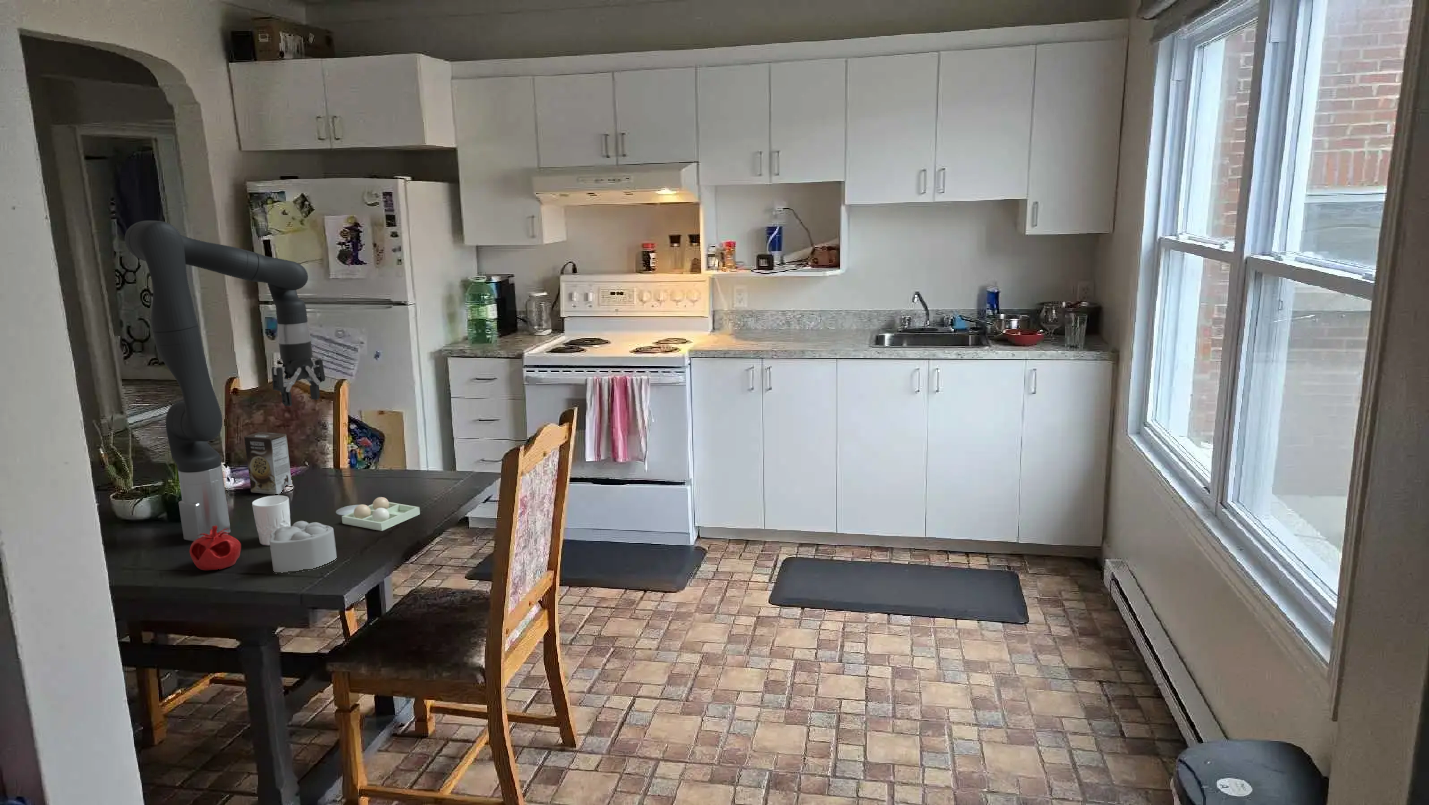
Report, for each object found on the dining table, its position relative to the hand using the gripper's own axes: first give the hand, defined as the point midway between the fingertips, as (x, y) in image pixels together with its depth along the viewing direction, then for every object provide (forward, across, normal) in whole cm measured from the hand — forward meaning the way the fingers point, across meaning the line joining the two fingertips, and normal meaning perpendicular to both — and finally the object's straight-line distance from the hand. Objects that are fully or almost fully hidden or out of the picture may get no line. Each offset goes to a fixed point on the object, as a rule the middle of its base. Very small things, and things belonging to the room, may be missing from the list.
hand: (302, 402), depth 239 cm
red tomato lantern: (+28, -38, -13) cm, 49 cm away
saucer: (+28, 0, -14) cm, 31 cm away
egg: (+27, -5, -29) cm, 40 cm away
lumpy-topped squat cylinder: (+28, -29, -30) cm, 50 cm away
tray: (+28, -2, -26) cm, 38 cm away
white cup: (+28, -22, -12) cm, 38 cm away
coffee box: (+28, +5, +22) cm, 36 cm away
